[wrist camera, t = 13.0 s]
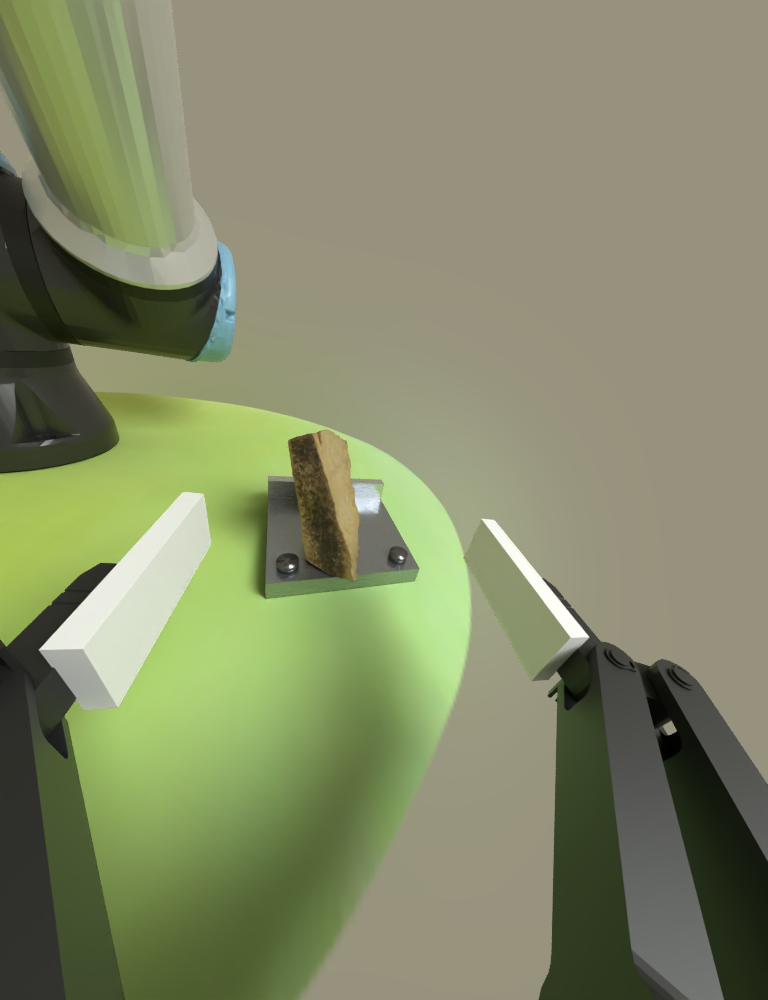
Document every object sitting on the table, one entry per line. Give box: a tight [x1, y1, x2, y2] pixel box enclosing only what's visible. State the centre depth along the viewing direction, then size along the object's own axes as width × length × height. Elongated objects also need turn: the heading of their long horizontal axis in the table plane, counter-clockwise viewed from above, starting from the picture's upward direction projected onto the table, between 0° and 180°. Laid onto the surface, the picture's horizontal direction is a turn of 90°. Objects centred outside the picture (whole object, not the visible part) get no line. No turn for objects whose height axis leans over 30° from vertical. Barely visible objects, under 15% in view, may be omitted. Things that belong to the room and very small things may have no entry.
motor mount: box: [265, 476, 419, 599], centre depth 26 cm, size 12×12×4 cm
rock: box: [288, 430, 360, 582], centre depth 24 cm, size 11×9×10 cm
